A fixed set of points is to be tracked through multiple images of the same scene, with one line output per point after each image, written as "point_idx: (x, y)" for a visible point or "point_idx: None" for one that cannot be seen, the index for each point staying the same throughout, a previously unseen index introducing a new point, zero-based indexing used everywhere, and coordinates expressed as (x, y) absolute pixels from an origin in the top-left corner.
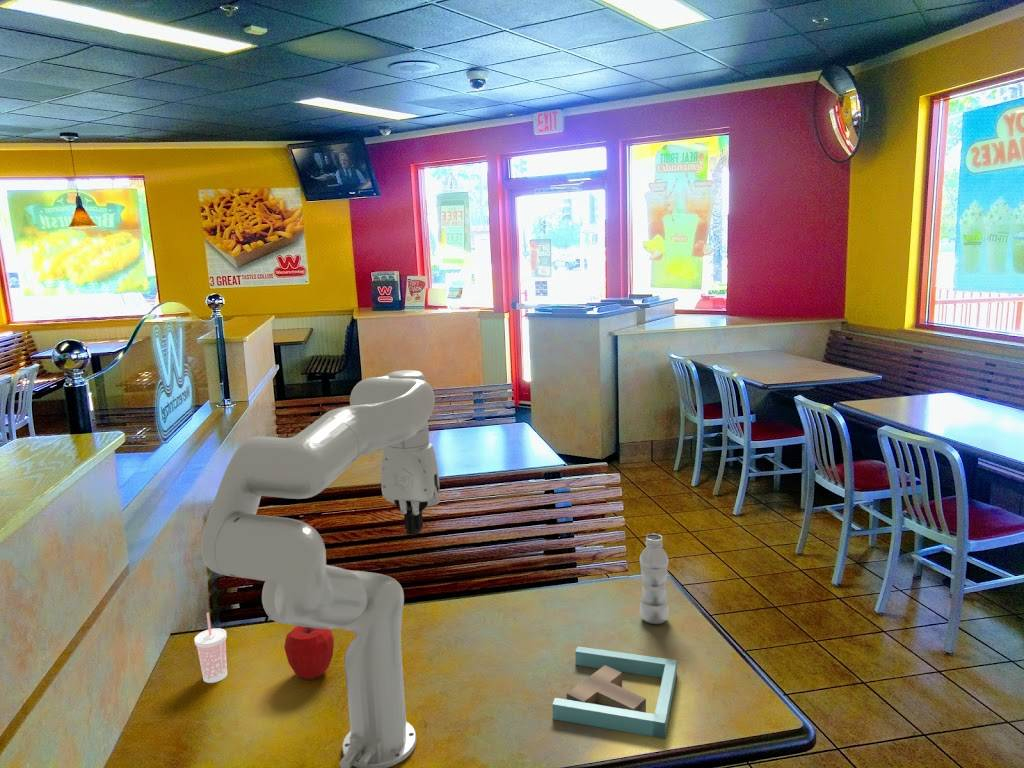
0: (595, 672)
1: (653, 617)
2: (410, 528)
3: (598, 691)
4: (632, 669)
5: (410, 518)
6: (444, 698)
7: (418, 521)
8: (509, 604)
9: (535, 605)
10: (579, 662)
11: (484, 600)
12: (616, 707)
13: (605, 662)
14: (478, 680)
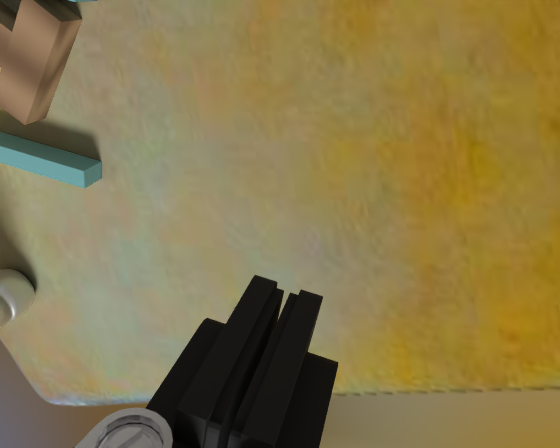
0: (32, 99)
1: (1, 273)
2: (276, 328)
3: (9, 32)
4: (3, 136)
5: (228, 394)
6: (328, 35)
7: (177, 366)
8: None
9: None
10: (90, 161)
11: None
12: None
13: (42, 151)
14: (266, 108)
